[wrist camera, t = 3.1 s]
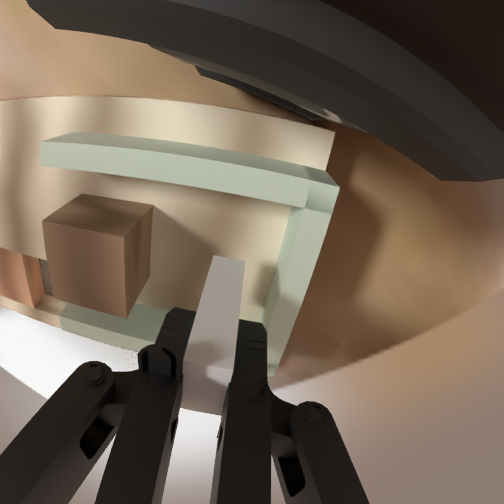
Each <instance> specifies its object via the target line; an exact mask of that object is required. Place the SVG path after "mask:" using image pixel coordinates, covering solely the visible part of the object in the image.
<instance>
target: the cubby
mask: <svg viewBox="0 0 504 504" xmlns="http://www.w3.org/2000/svg"><path fill="white" fill-rule="evenodd" d="M40 166H44V167H54V168H64V169H73V170H82V171H90V172H98V173H106V174H114V175H121V176H128V177H135V178H142V179H149V180H155V181H162V182H168V183H174V184H181V185H187V186H192V187H198V188H204V189H210V190H215V191H221V192H226V193H232V194H237V195H242V196H247V197H252V198H257V199H262V200H267V201H272V202H277V203H282V204H287V205H291V206H292V207H291V210H290V214H289V218H288V222H287V226H286V229H285V233H284V237H283V241H282V244H281V248H280V252H279V255H278V259H277V263H276V266H275V270H274V274H273V277H272V281H271V285H270V288H269V292H268V295H267V299H266V302H265V306H264V309H263V313H262V316H261V320H260V323H262V324H263V325H264V327H265V329H266V331H267V377H274V375H275V373H276V370H277V368H278V365H279V363H280V360H281V358H282V355H283V353H284V350H285V347H286V345H287V342H288V340H289V337H290V334H291V332H292V329H293V326H294V324H295V321H296V318H297V316H298V313H299V310H300V308H301V305H302V302H303V299H304V296H305V294H306V291H307V288H308V285H309V282H310V279H311V277H312V274H313V271H314V268H315V265H316V262H317V259H318V256H319V253H320V250H321V247H322V244H323V241H324V238H325V234H326V231H327V228H328V225H329V222H330V219H331V215H332V212H333V209H334V206H335V202H336V199H337V196H338V192H339V189H340V187H339V186H338V185H337V183H336V182H335V181H334V180H333V179H332V178H331V176H330V175H329V174H328V173H327V172H326V171H324V170H320V169H316V168H312V167H308V166H304V165H300V164H295V163H291V162H287V161H282V160H277V159H273V158H268V157H263V156H258V155H253V154H248V153H243V152H238V151H232V150H226V149H221V148H215V147H209V146H202V145H196V144H189V143H182V142H175V141H168V140H160V139H151V138H143V137H133V136H123V135H112V134H99V133H84V132H71V133H67V134H64V135H60V136H57V137H54V138H50V139H47V140H44V141H41V144H40ZM169 311H170V310H166V309H161V308H156V307H152V306H148V305H143V304H139V303H135V304H134V306H133V308H132V310H131V312H130V314H129V315H128V317H127V319H126V318H122V317H118V316H114V315H110V314H107V313H103V312H99V311H96V310H92V309H88V308H85V307H81V306H78V305H75V304H71V303H67V305H66V306H65V307H64V309H63V310H62V311H61V313H60V314H59V315H58V316H59V320H60V324H61V328H62V330H65V331H68V332H71V333H74V334H77V335H80V336H83V337H86V338H90V339H93V340H96V341H99V342H103V343H106V344H110V345H113V346H117V347H121V348H124V349H128V350H132V351H136V352H140V350H141V349H142V348H144V347H146V346H147V345H151V344H155V341H156V339H157V336H158V334H159V332H160V329H161V326H162V324H163V321H164V319H165V316H166V314H167V313H168V312H169Z"/></svg>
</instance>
